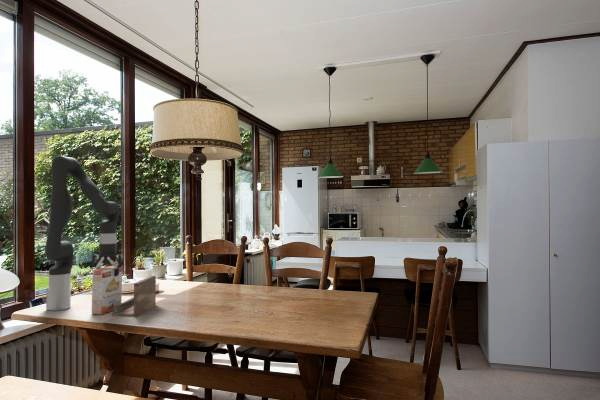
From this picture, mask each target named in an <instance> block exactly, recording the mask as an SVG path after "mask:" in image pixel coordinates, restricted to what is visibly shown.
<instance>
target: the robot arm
mask: <svg viewBox="0 0 600 400" xmlns="http://www.w3.org/2000/svg"><path fill="white" fill-rule="evenodd" d="M50 168H51V170H50V171H51V172H50V173H51V197H50V206H49V207H50V208H49V224H48V231H47V236H46V241H45V246H44V254H45V257H46V259H47V260H48V261H51V262H55V261H56V263H55V264H54V265H53V266H51V267H50V268H49V269H48V289H47V290H46V298H45V299H46V303H45V304H46V306H45V310H46V311H54V312H55V311H57V312H58V311H62V310H67V309H70V308H71V301H72V300H71V299H72V298H71V293H72V292H71V291H72V290H71V289H72V287H71V286H72V283H71V282H72V276H71V275H72V269H73V265H74V252H75V251H74V245H73V244H72V242H71V241H69V240H62V236H63V232H64V229H65V228H66V226H67V224H68V223H69V221H70V220H71V218H72V216H73V215H72V214H73V206H74V205H73V204H74V203H73V202H74V201H73V197H72V196H71V194H70V192H69V189H68V186H67V176H70V177H71V178H72V179H74V180H75V181H76V182H77V184H78V185H79V189H80V191H81V192H82V194H83V195H84V196H85V198H86V199H87V200H88V201H89V202H90V204H91V205H92V207H93V209H94V210H95V212H96V213H97V214H98V215H100V216H103V217H105V218H104V220H102V221H101V222H100V223H99V238H98V246H99V247H98V252H99V254H96V253H95V254H92V259H91V267H92V268H94V269H100V268H102V266H103V265H105V264H107V265H110V264H111V266H114V267H115V276H118V275H119V268H120V267H122V268H123V267H124V266H125V265H124V255H123V254H117V252H118V251H117V247H118V246H117V242H118V240H117V223H118V220H119V215H120V206H119V204H118V203H117V202H116V201H106V199H105V198H106V195H105V193H104V192H103V191H102V190H101V189H100V188H99V187H98V186H97V185H96V184H95V183H94V182H93V180H92V179H91V178H90V176H89V175H88V174H87V173H86V171H85V169H84V168H83V166H82V165H81V163H80V162H79V161H78V160H77V159H75V158H74V157H71V156H70V157H68V156H64V155H57V156H55V157H54V158H53V160H52V162H51V165H50ZM98 259H99V260H98ZM117 260H118V261H117Z"/></svg>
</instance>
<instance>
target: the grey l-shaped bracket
mask: <svg viewBox="0 0 600 400" xmlns="http://www.w3.org/2000/svg"><path fill="white" fill-rule="evenodd" d="M156 279H157V277H156V275H151V276H150V275H149V276H148V277H145V278H143V279H141V280H139V281H137V282H135V283H133V297H130V298H129V299H127V300H125V301H123V302H121V304H119V305H117V306H115V307H113V311H112V314H111V316H112V317H139V316H141V315H143V314H144V313H146V312H147V311H148V310H150V309H153V307H155V306H156V301H157V299H156V297H157V296H156V295H157V293H156V290H157V289H156V287H157V283H156V281H157V280H156Z"/></svg>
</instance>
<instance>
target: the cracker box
mask: <svg viewBox="0 0 600 400" xmlns="http://www.w3.org/2000/svg"><path fill="white" fill-rule="evenodd" d="M91 284H92V286H91V294H92V295H91V314H92V315H101V316H102V315H104V314H108V313H109V312H113V307H115V306H117V305H119V304H121V303H122V297H123V294H122V293H123V291H122V290H123V267H120V268H119V275H118V276H115V267H114V266H113V265H110V266H105V267H100V269H96V268H94V269H92V283H91Z"/></svg>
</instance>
